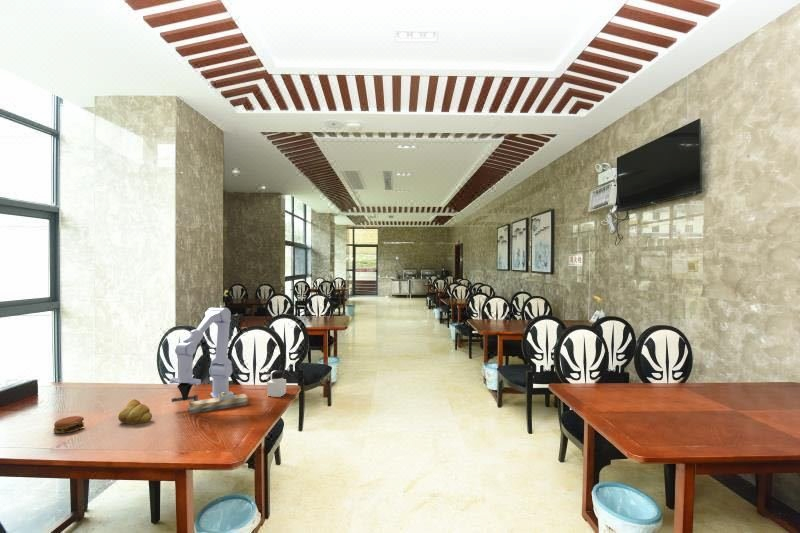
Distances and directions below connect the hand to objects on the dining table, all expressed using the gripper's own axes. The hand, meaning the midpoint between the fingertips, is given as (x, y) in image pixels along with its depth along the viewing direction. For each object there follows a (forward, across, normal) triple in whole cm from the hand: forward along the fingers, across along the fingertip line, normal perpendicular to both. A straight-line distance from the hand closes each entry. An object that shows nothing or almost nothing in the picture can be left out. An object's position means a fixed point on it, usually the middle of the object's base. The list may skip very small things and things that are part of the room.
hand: (185, 400), depth 188 cm
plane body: (+4, +12, +7) cm, 15 cm away
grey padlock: (+5, +28, +31) cm, 42 cm away
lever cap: (+1, +14, +9) cm, 17 cm away
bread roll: (+5, -10, -17) cm, 20 cm away
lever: (+4, -1, +1) cm, 4 cm away
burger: (+5, -28, -30) cm, 41 cm away
